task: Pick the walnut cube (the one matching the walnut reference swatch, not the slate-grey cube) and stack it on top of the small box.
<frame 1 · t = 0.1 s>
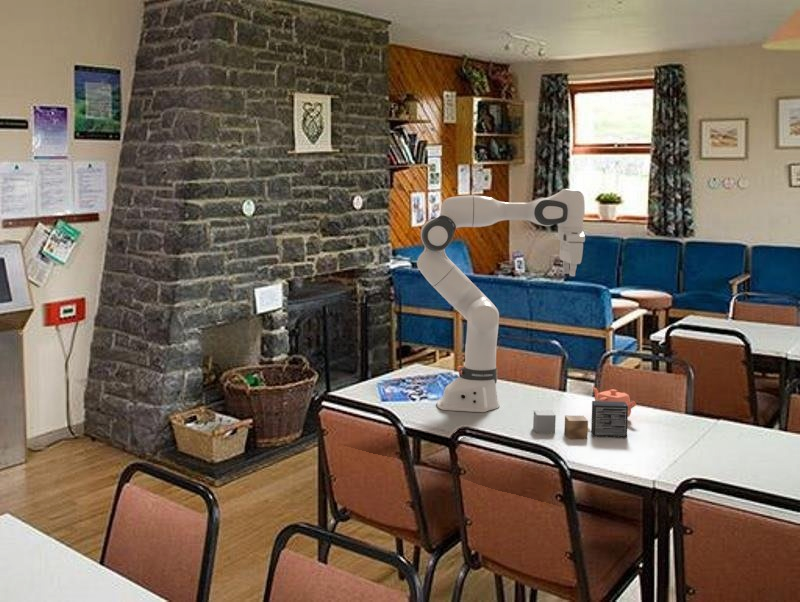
hand: (569, 274, 284), 48 cm above the table, fingers open, 8 cm apart
reference swatch: (578, 428, 264), on the table
teapot: (611, 419, 276), on the table
walnut cube: (575, 436, 255), on the table
small box: (608, 435, 257), on the table
slate cube: (543, 430, 261), on the table
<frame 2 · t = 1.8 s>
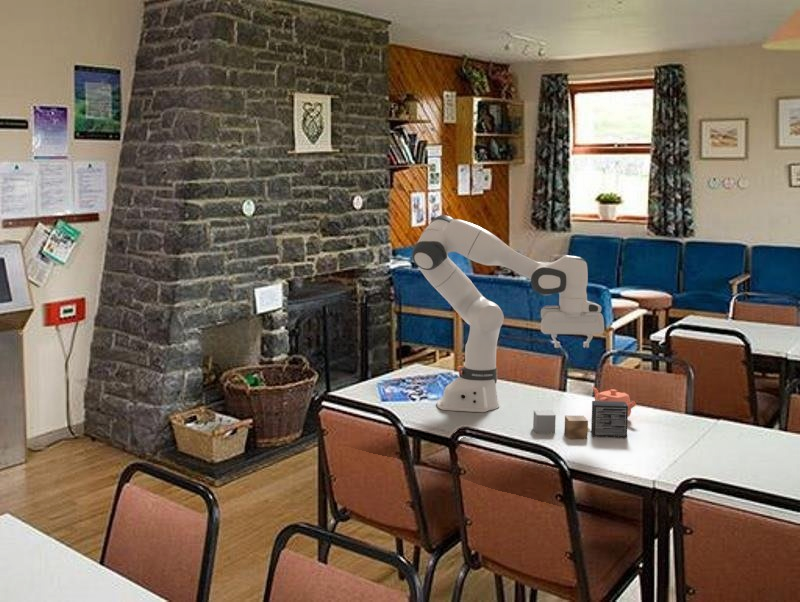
hand: (571, 347, 262), 26 cm above the table, fingers open, 8 cm apart
nothing on the table moved.
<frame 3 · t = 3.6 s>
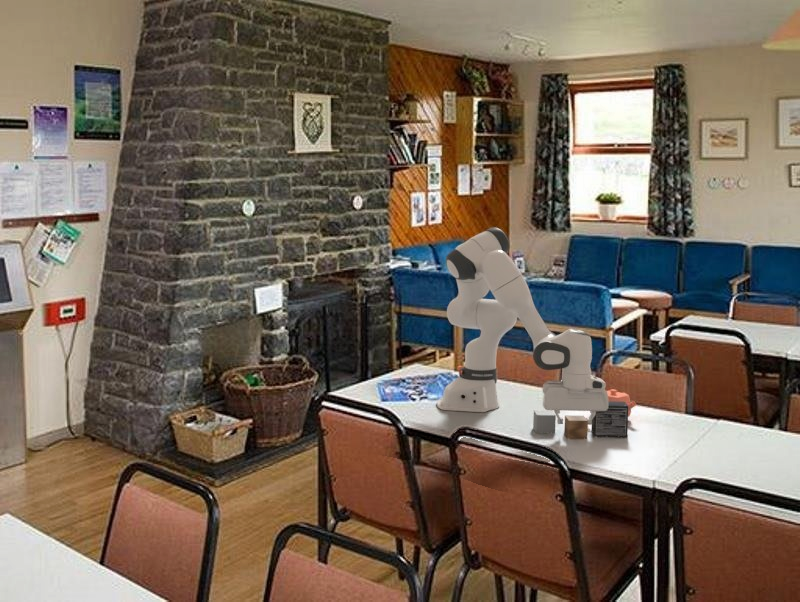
hand: (574, 423, 253), 4 cm above the table, fingers open, 8 cm apart
small box: (609, 435, 257), on the table, touching gripper
everything else where it was.
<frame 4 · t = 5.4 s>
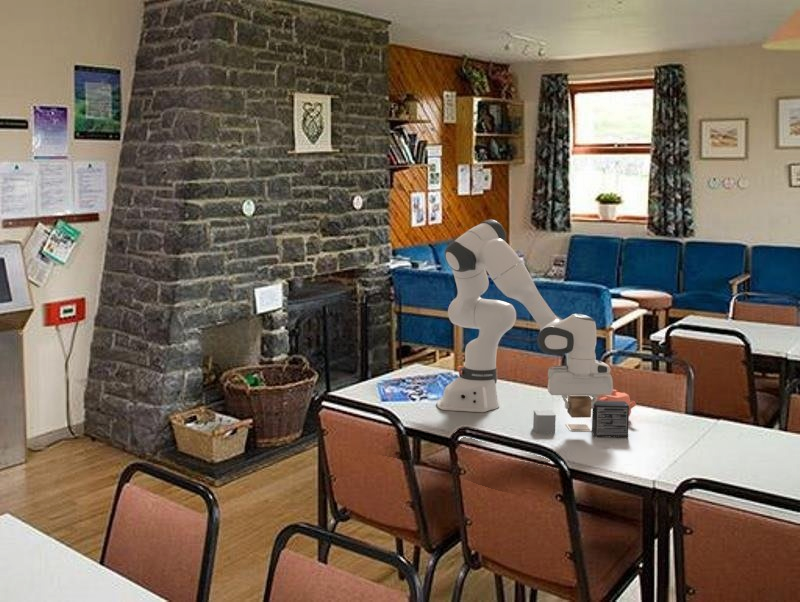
hand: (579, 408, 255), 9 cm above the table, fingers closed on walnut cube, 6 cm apart
walnut cube: (579, 414, 255), point 7 cm above the table, touching gripper
small box: (609, 435, 257), on the table
everything else where it was.
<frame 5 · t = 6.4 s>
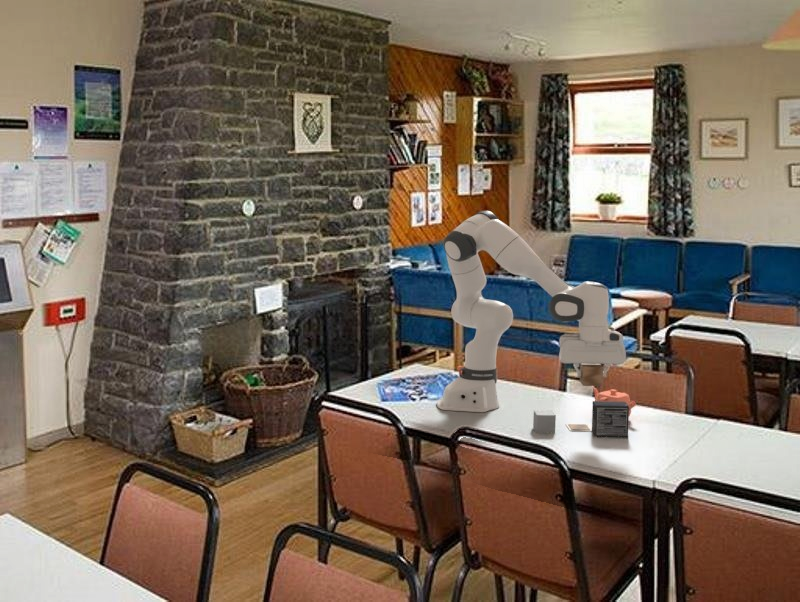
hand: (591, 377, 252), 19 cm above the table, fingers closed on walnut cube, 6 cm apart
walnut cube: (591, 383, 252), point 17 cm above the table, touching gripper
everything else where it was.
when the fingers open (13 cm above the table, at t = 8.8 s): walnut cube stays where it is, resting on small box.
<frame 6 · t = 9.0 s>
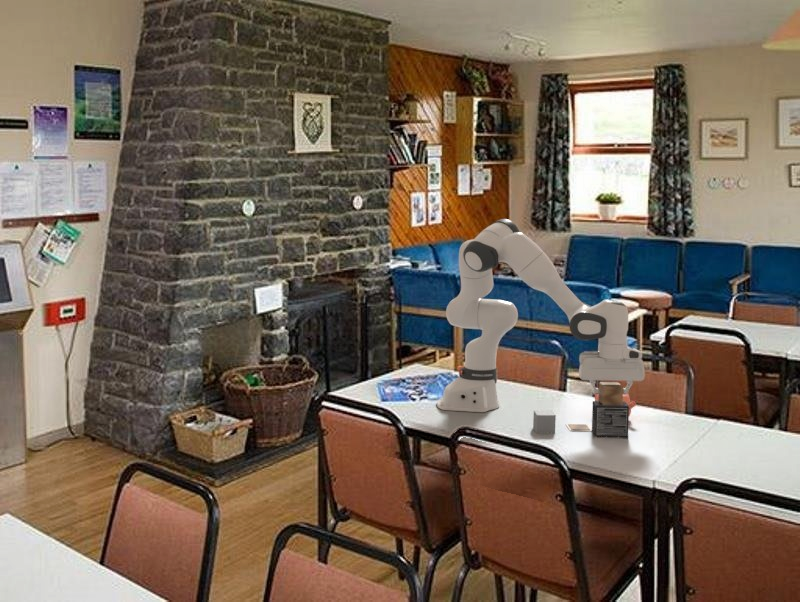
hand: (610, 394, 255), 13 cm above the table, fingers open, 8 cm apart
walnut cube: (610, 402, 255), point 10 cm above the table, touching small box
small box: (609, 435, 257), on the table, touching walnut cube
everything else where it was.
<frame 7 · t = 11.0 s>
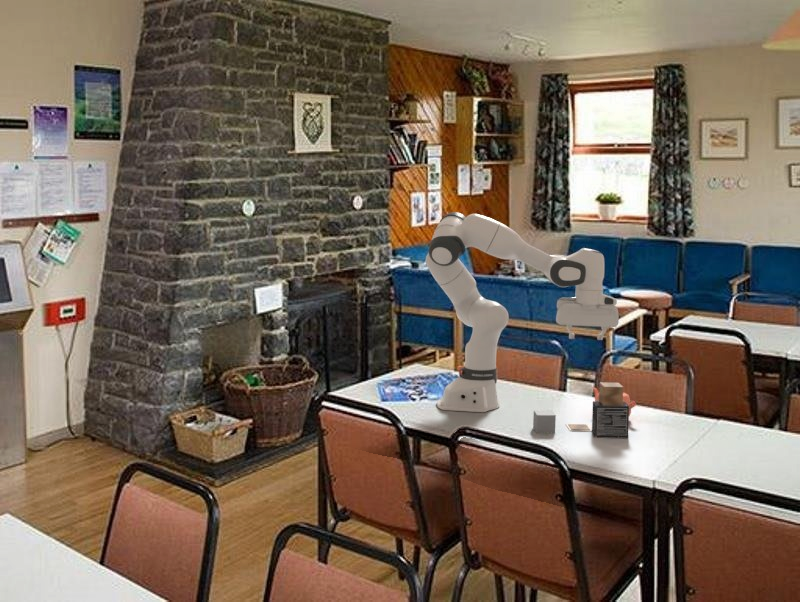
hand: (585, 339, 267), 28 cm above the table, fingers open, 8 cm apart
nothing on the table moved.
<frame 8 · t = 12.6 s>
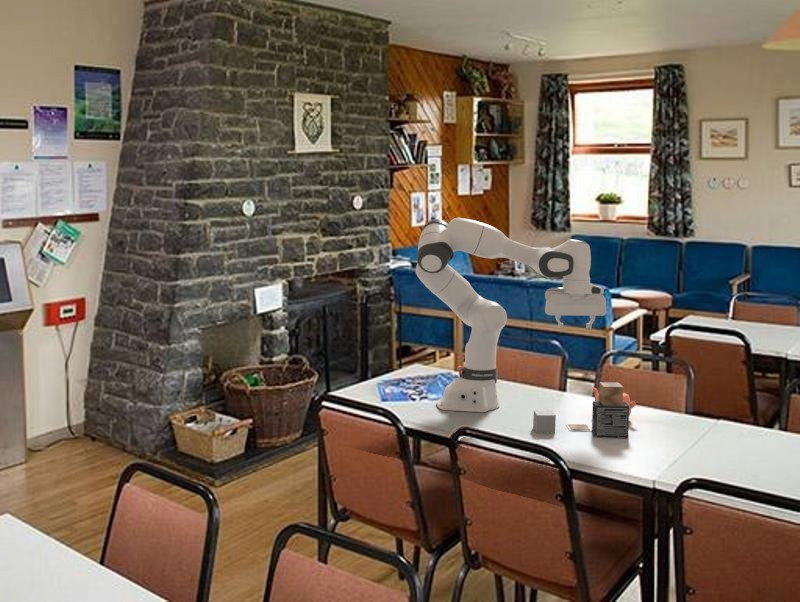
hand: (574, 328, 272), 31 cm above the table, fingers open, 8 cm apart
nothing on the table moved.
at the end: walnut cube inside the target area on the small box (0.2 cm from its centre), point 10.7 cm above the small box's base; walnut cube tilted 0°; the gripper is holding nothing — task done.
